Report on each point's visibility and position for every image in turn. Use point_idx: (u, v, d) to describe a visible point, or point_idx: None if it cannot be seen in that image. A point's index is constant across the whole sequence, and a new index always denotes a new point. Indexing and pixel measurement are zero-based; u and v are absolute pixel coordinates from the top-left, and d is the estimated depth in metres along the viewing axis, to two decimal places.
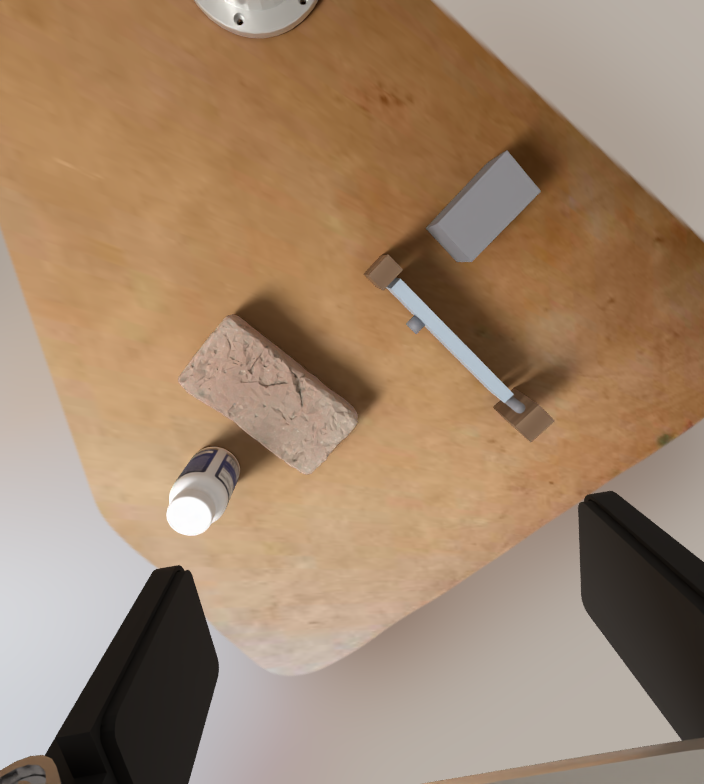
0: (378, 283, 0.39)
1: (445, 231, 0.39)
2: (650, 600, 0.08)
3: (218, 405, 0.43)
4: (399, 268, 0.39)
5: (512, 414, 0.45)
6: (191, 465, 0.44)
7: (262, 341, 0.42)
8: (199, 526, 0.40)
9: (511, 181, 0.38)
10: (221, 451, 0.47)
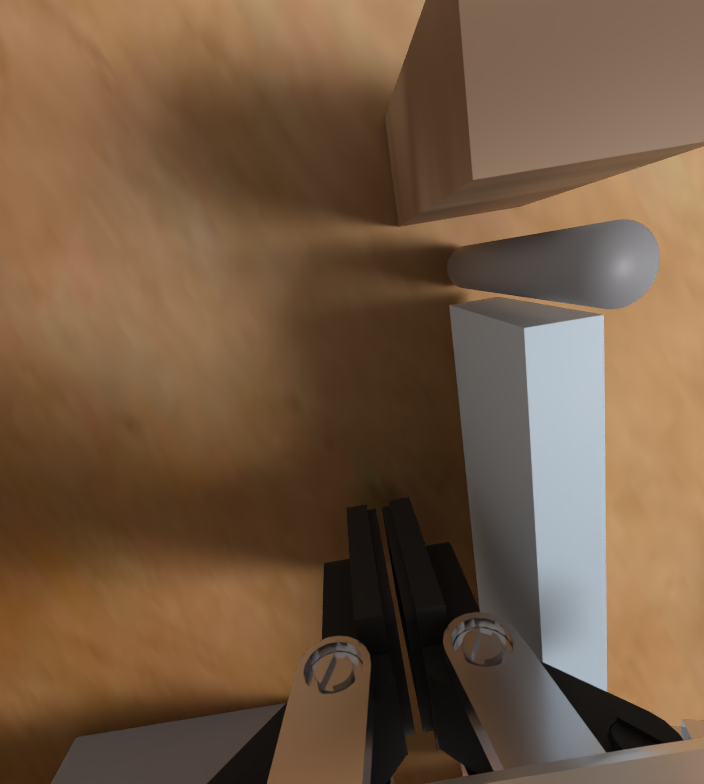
0: None
1: None
2: (398, 593, 0.09)
3: None
4: None
5: (572, 181, 0.07)
6: None
7: None
8: None
9: None
10: None
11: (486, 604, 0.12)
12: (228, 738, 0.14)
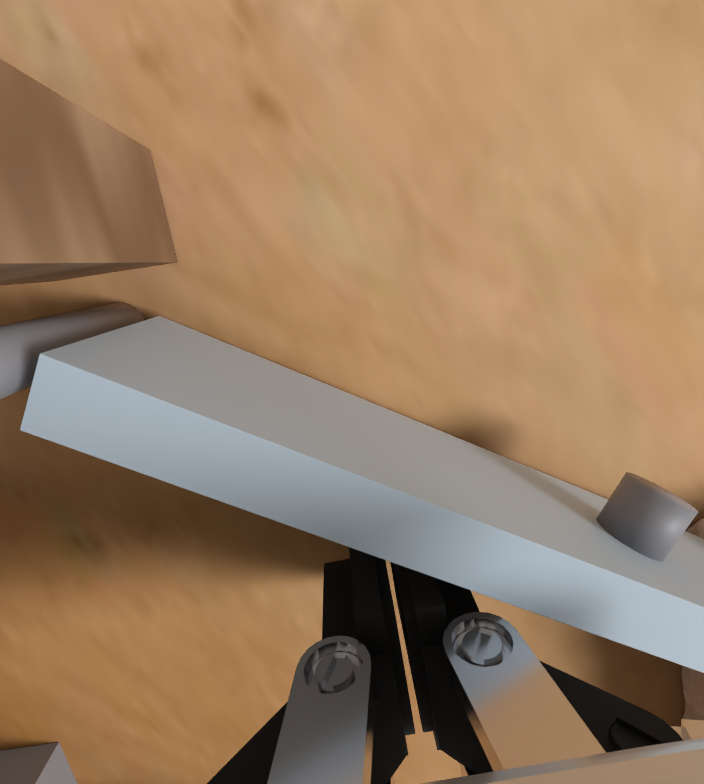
0: None
1: None
2: (398, 594, 0.09)
3: None
4: None
5: (41, 270, 0.07)
6: None
7: None
8: None
9: None
10: None
11: None
12: None
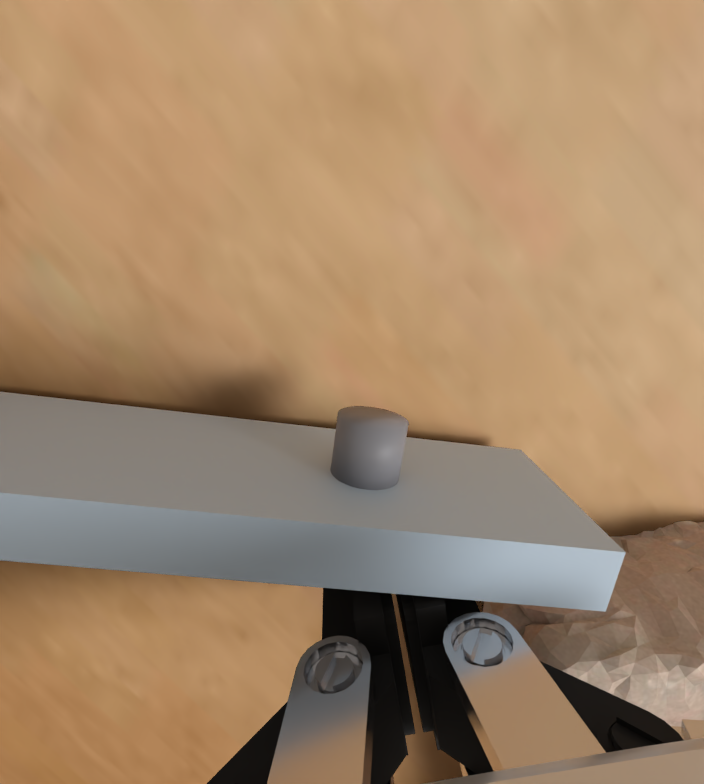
0: None
1: None
2: None
3: None
4: None
5: None
6: None
7: None
8: None
9: None
10: None
11: None
12: None
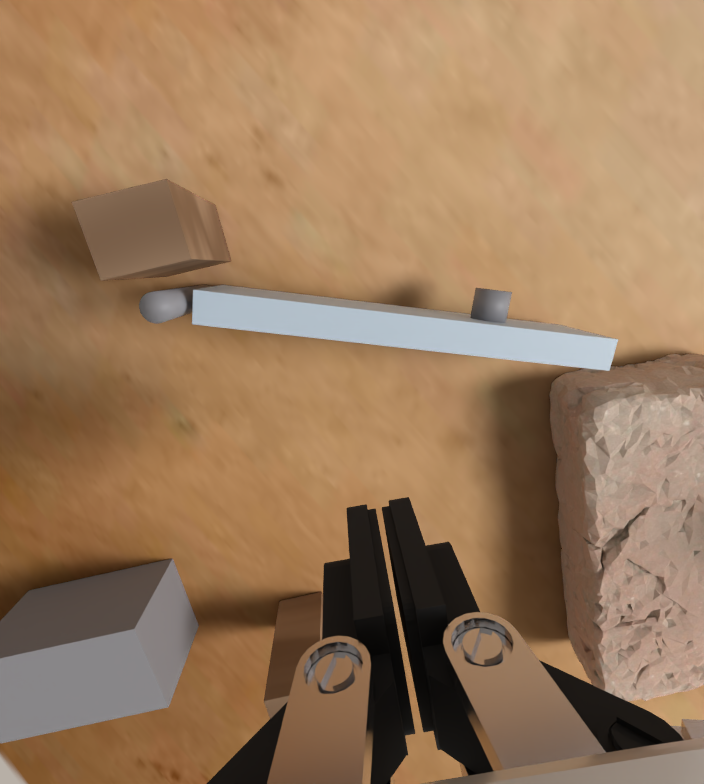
0: None
1: (159, 690, 0.20)
2: (398, 593, 0.09)
3: None
4: (269, 705, 0.19)
5: (188, 264, 0.16)
6: None
7: (593, 636, 0.22)
8: None
9: (8, 704, 0.20)
10: None
11: None
12: (114, 581, 0.23)
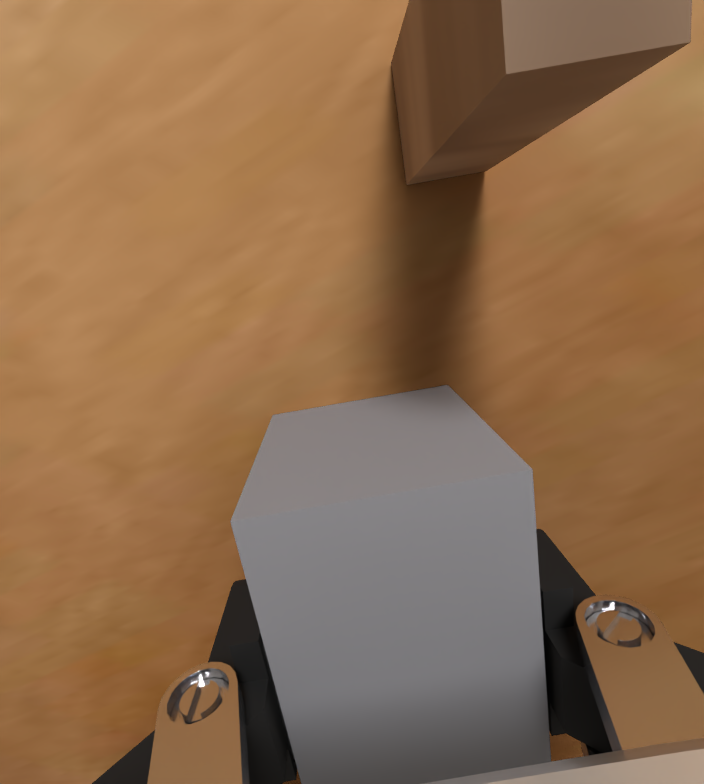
0: None
1: (466, 485, 0.07)
2: None
3: None
4: (534, 51, 0.04)
5: None
6: None
7: None
8: None
9: None
10: None
11: None
12: None
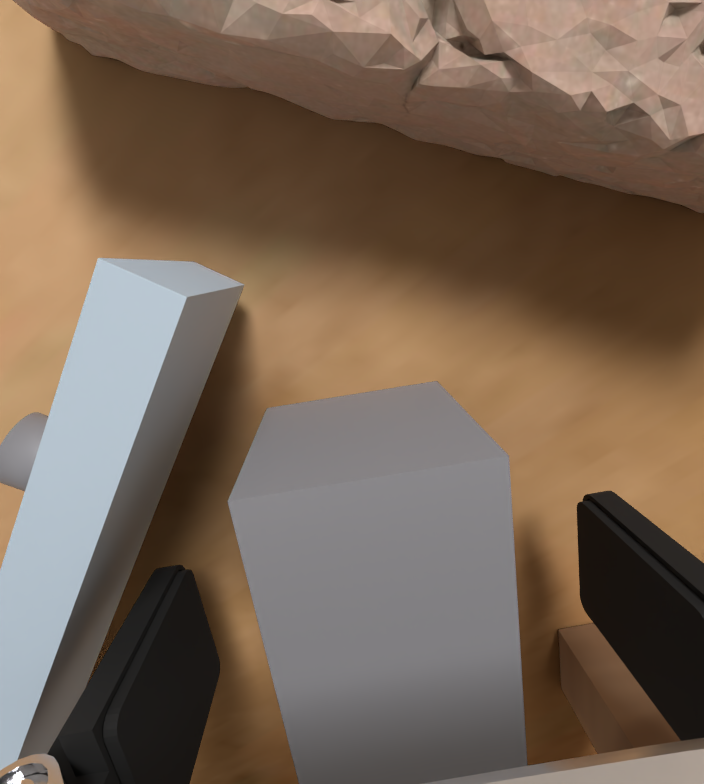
0: None
1: (448, 470, 0.07)
2: (648, 599, 0.08)
3: None
4: None
5: None
6: None
7: None
8: None
9: (425, 781, 0.09)
10: None
11: (128, 566, 0.11)
12: None
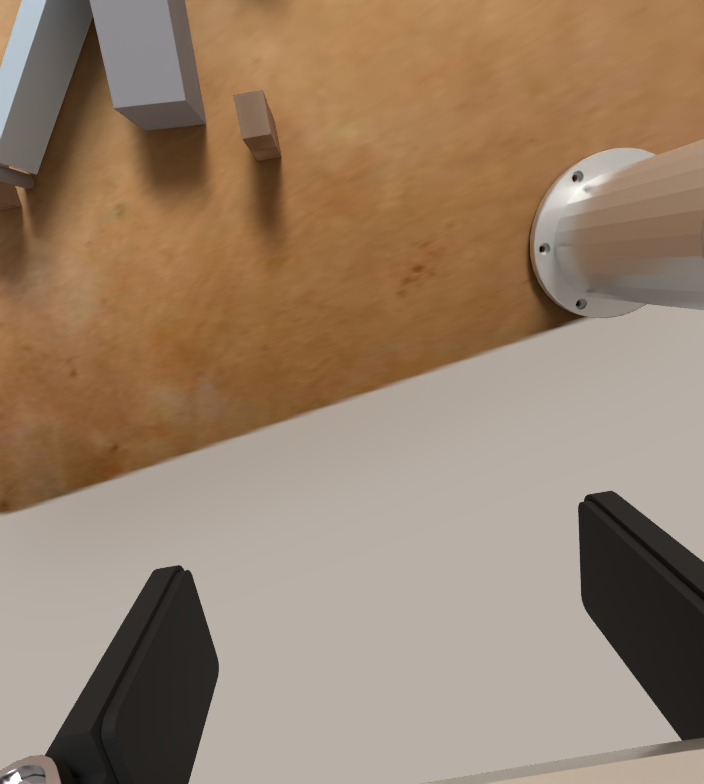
0: (245, 95, 0.27)
1: None
2: (650, 600, 0.08)
3: None
4: (246, 135, 0.28)
5: None
6: None
7: None
8: None
9: (148, 80, 0.28)
10: None
11: (69, 57, 0.30)
12: None
